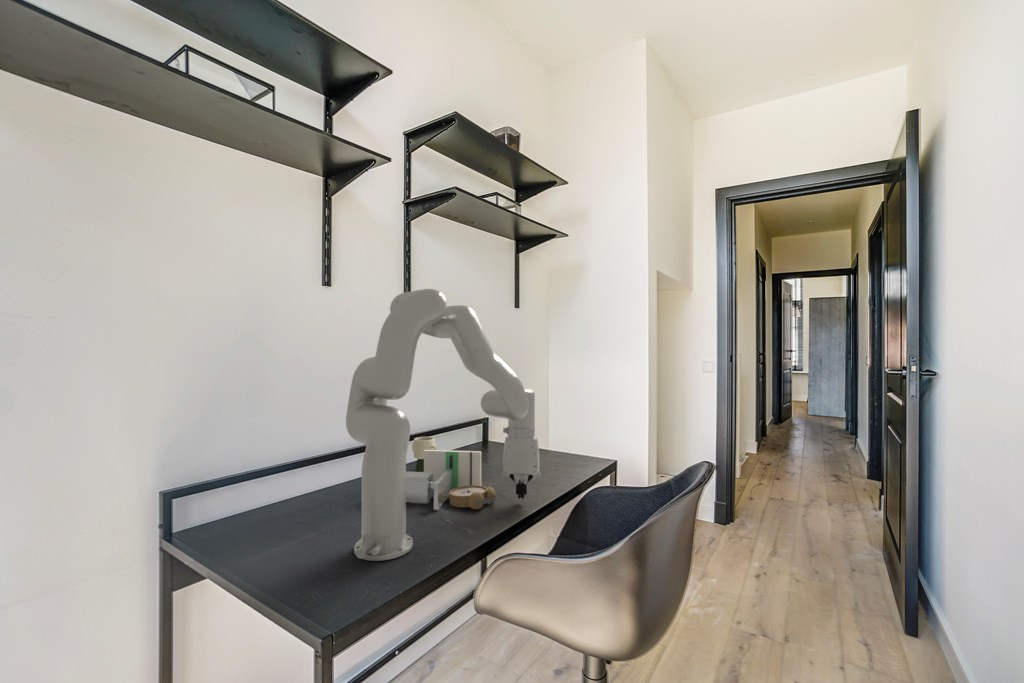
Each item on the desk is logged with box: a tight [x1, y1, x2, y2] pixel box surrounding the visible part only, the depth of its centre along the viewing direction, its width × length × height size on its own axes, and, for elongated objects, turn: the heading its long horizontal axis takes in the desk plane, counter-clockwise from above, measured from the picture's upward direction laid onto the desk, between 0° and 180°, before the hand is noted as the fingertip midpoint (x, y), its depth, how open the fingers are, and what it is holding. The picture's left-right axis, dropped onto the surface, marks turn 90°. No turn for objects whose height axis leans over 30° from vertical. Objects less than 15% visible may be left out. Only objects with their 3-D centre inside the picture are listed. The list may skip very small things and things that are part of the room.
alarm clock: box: [446, 485, 498, 511], centre depth 132 cm, size 11×5×15 cm
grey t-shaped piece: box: [429, 455, 453, 511], centre depth 135 cm, size 17×11×11 cm, turn 173°
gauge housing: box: [406, 471, 434, 504], centre depth 135 cm, size 6×13×7 cm, turn 83°
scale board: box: [424, 449, 482, 489], centre depth 144 cm, size 1×18×12 cm, turn 83°
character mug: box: [411, 436, 438, 472], centre depth 158 cm, size 11×7×13 cm, turn 57°
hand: (521, 496), depth 131 cm, fingers closed
